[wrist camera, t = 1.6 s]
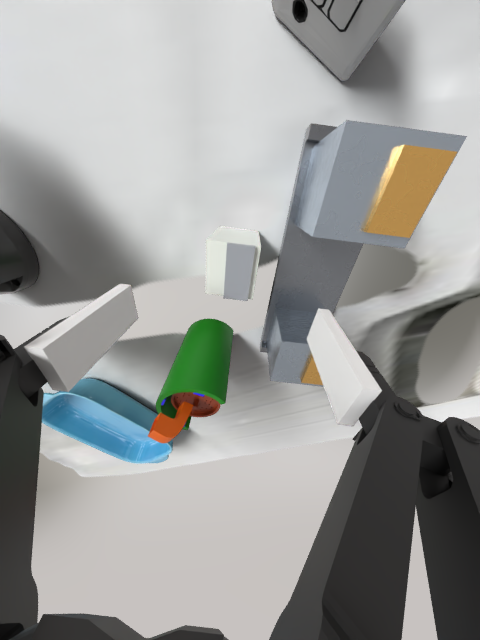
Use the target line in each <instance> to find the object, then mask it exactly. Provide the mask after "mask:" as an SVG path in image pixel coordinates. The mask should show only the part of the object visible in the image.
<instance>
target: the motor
mask: <svg viewBox="0 0 480 640" xmlns="http://www.w3.org/2000/svg"><path fill="white" fill-rule="evenodd" d="M232 339H233V330H232V328H231V327H229V326H228V325H227V324H226V323H224V322H221V321H219V320H215V319H203V320H199V321H197V322H195V323H193V324H192V325H191V326H190V328H189V329H188V331H187V334H186V336H185V338H184V340H183V343H182V345H181V347H180V350H179V352H178V354H177V356H176V359H175V361H174V363H173V365H172V368H171V370H170V372H169V375H168V377H167V379H166V381H165V384H164V386H163V388H162V390H161V393H160V395H159V397H158V400H157V402H156V410H157V412H158V414H159V415H158V416H157V417H156V418H155V420H154V422H153V425H152V427H151V430H150V432H149V434H148V437H150V438H152V439H153V440H155V441H157V442H160V443H168V442H170V441H171V440H172V439H173V438H174V437H175V436H176V435H178V434H179V432H180V431H181V430H182V429H184V430H188V428H189V424H190V420H191V416H193V417H207V416H211V415H213V414H215V413H216V412H217V411H218V410H219V408H220V404H224V403H225V402H226V393H227V384H228V375H229V366H230V357H231V348H232Z"/></svg>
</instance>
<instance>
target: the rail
mask: <svg viewBox="0 0 480 640" xmlns="http://www.w3.org/2000/svg"><path fill="white" fill-rule="evenodd" d="M466 137H467V136H461V135H453V134H446V133H438V132H431V131H423V130H416V129H409V128H401V127H394V126H386V125H379V124H371V123H364V122H357V121H349V120H346V121H345V122H344V123H342V124H341V125H340V126H339V127H333V126H326V125H318V124H311V125H310V126H309V127H308V128H307V129H306V133H305V138H304V143H303V147H302V152H301V157H300V161H299V166H298V170H297V175H296V180H295V184H294V189H293V194H292V198H291V203H290V208H289V212H288V217H287V222H286V226H285V231H284V236H283V240H282V245H281V249H280V254H279V259H278V263H277V268H276V273H275V277H274V282H273V287H272V291H271V296H270V301H269V305H268V310H267V315H266V319H265V324H264V328H263V333H262V338H261V342H260V352H267V353H268V362H269V373H270V381H279V382H287V383H296V384H305V385H314V386H322V387H324V386H323V383H322V380H321V377H320V375H319V372H318V369H317V366H316V364H315V361H314V358H313V355H312V353H311V350H310V347H309V344H308V342H307V337H308V334H309V331H310V329H311V326H312V324H313V321H314V318H315V316H316V313H317V310H318V308H319V309H327V310H330V312H331V313H332V314H333V312H334V310H335V307H336V305H337V303H338V300H339V298H340V296H341V294H342V291H343V289H344V287H345V284H346V282H347V280H348V278H349V275H350V273H351V271H352V268H353V266H354V264H355V262H356V259H357V257H358V255H359V252H360V250H361V248H362V246H363V243H366V244H373V245H381V246H389V247H397V248H405V246H406V245H407V243H408V241H409V239H410V238H411V236H412V234H413V232H414V230H415V229H416V227H417V225H418V223H419V221H420V220H421V218H422V216H423V214H424V212H425V211H426V209H427V207H428V205H429V203H430V202H431V200H432V198H433V196H434V194H435V193H436V191H437V189H438V187H439V185H440V184H441V182H442V180H443V178H444V176H445V175H446V173H447V171H448V169H449V167H450V166H451V164H452V162H453V160H454V158H455V157H456V155H457V153H458V151H459V150H460V148H461V146H462V144H463V142H464V141H465V139H466Z"/></svg>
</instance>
